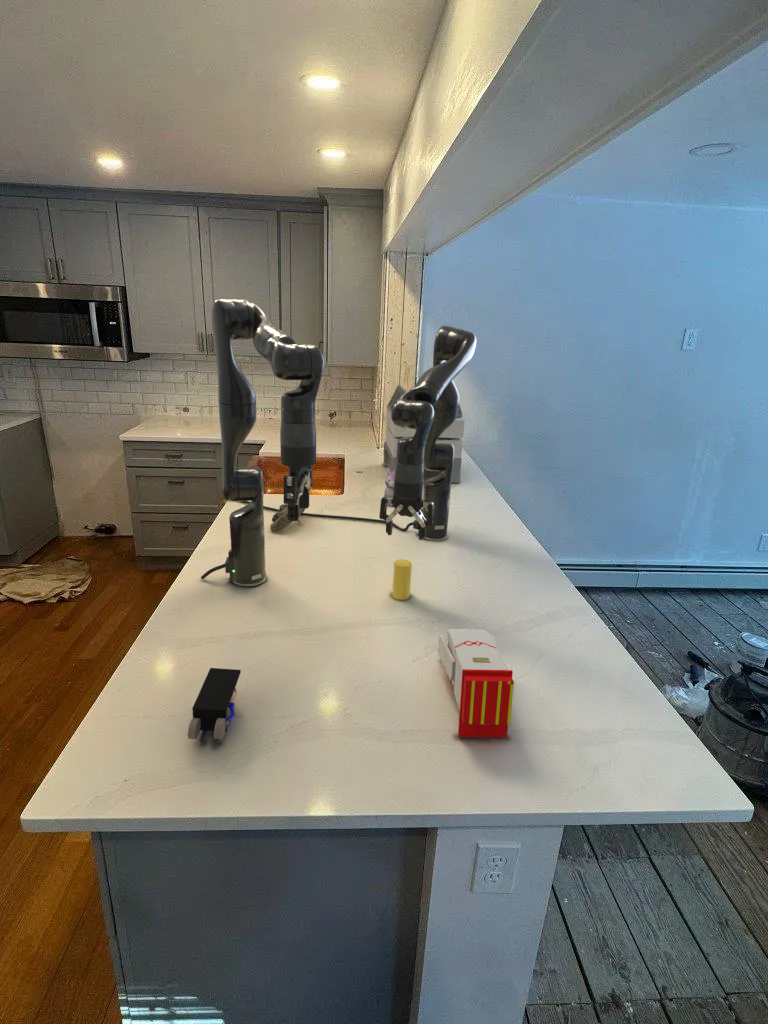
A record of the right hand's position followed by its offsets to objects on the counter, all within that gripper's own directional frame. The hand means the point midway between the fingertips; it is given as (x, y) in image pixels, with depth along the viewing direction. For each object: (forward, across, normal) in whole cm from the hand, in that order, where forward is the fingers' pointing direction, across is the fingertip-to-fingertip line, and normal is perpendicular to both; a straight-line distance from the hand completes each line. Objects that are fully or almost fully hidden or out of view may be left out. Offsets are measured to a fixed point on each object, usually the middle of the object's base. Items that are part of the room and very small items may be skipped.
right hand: (405, 536), depth 151 cm
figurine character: (+18, -21, -61) cm, 67 cm away
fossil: (+18, -52, +40) cm, 67 cm away
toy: (+18, +24, -36) cm, 46 cm away
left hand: (-13, -18, -28) cm, 36 cm away
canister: (+18, 0, 0) cm, 18 cm away
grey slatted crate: (+17, -22, +124) cm, 127 cm away
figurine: (+17, -22, +76) cm, 81 cm away
